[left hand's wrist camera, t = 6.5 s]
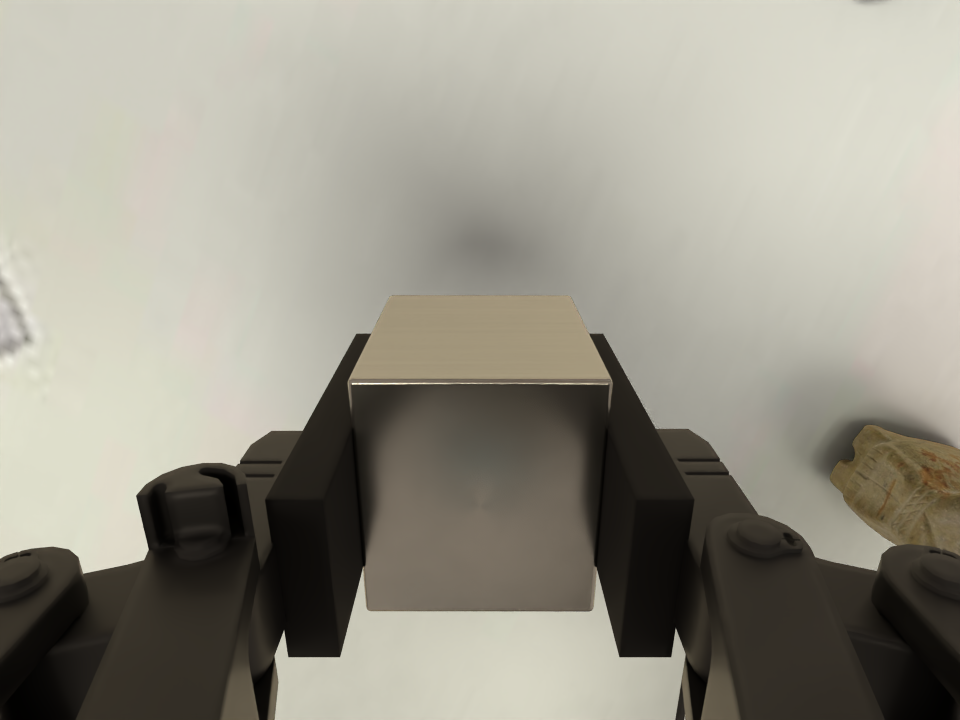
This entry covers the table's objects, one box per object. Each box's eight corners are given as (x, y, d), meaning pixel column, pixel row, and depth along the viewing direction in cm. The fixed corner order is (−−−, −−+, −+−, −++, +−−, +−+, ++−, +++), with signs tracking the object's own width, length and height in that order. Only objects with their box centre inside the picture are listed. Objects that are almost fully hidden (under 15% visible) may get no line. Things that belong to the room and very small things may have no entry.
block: (571, 294, 14) (614, 379, 10) (561, 470, 16) (594, 613, 11) (388, 294, 14) (345, 379, 10) (398, 470, 16) (365, 613, 11)
